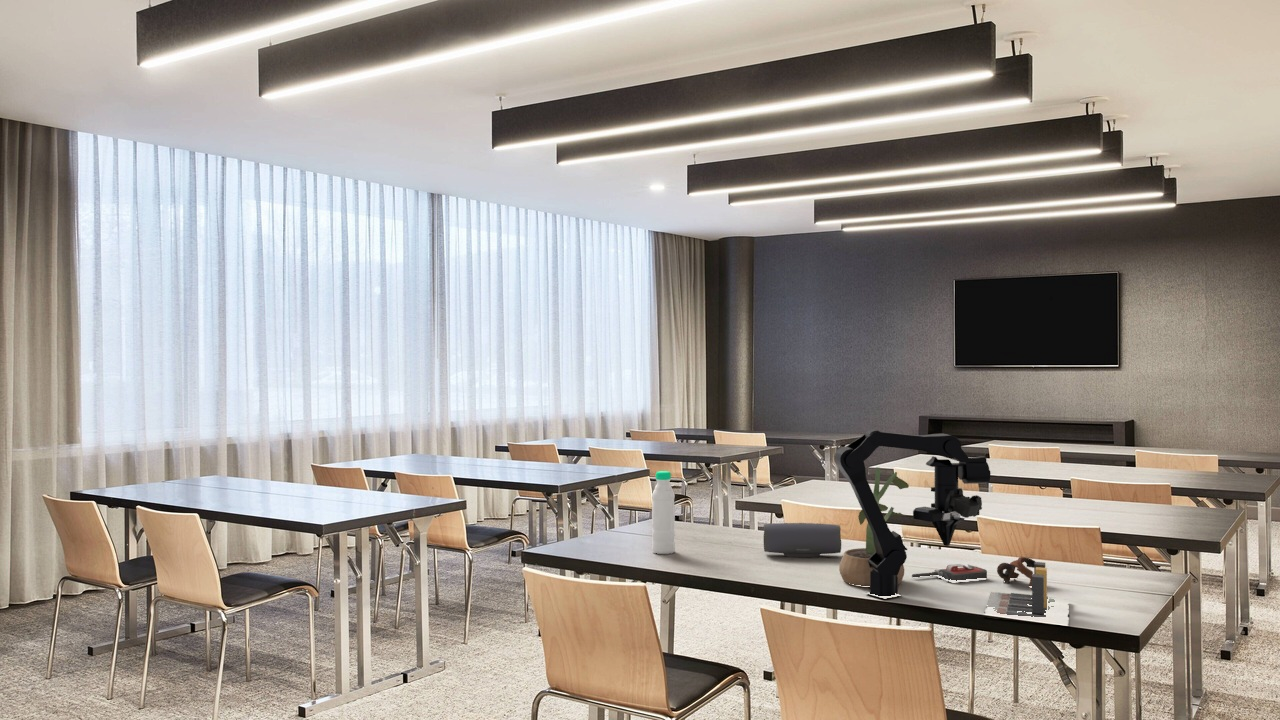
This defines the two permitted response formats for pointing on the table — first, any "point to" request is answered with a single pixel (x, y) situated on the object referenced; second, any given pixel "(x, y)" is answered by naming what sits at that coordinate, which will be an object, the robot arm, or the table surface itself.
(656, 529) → the water bottle
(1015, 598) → the grey ribbed panel
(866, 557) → the potted plant
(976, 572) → the walkie-talkie
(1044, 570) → the tan wooden tall block
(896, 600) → the table surface
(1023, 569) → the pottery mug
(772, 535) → the bluetooth speaker
